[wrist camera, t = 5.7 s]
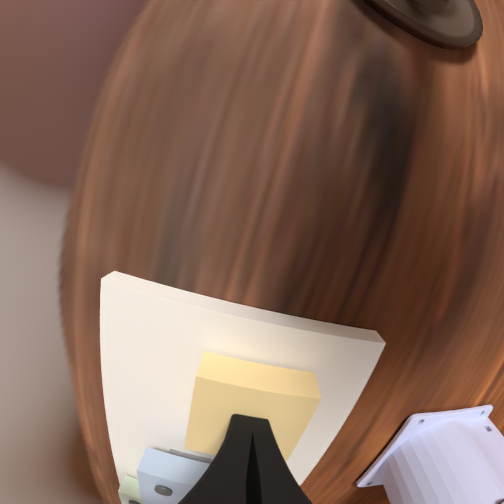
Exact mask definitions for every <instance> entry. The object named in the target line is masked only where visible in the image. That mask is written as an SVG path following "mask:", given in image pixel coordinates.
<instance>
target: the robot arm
mask: <svg viewBox="0 0 504 504" xmlns="http://www.w3.org/2000/svg"><path fill="white" fill-rule="evenodd" d="M492 409H493V407H492V405H485V406H479V407H473V408H467V409H460V410H452V411H443V412H433V413H420V414H413V415H411V416H410V417H409V418H408V419H407V420H406V422H405V423H404V425H403V426H402V427H401V429H400V430H399V432H398V433H397V434H396V436H395V437H394V438H393V440H392V441H391V442H390V444H389V445H388V446H387V447H386V449H385V450H384V451H383V452H382V454H381V455H380V456H379V457H378V458H377V460H376V461H375V462H374V463H373V464H372V465H371V467H370V468H369V469H368V470H367V471H366V472H365V473H364V475H363V476H362V477H361V478H360V479H359V480H358V481H357V482H356V483H357V487H368V486H376V485H384V488H385V491H386V494H387V497H388V499H389V502H390V504H504V437H503V436H502V434H501V433H500V432H499V430H498V429H497V428H496V427H495V426H494V424H493V423H492V422H491V421H490V419H489V418H488V416H489V414H490V413H491V411H492ZM178 504H312V503H311V501H310V500H309V499H308V498H307V496H306V495H305V493H304V492H303V491H302V489H301V488H300V486H299V485H298V483H297V481H296V480H295V478H294V476H293V475H292V473H291V471H290V469H289V468H288V466H287V464H286V462H285V460H284V458H283V456H282V453H281V451H280V449H279V447H278V444H277V442H276V439H275V437H274V434H273V431H272V428H271V425H270V422H269V420H268V419H264V418H258V417H252V416H246V415H240V414H233V415H232V416H231V419H230V423H229V426H228V429H227V432H226V436H225V439H224V441H223V443H222V445H221V447H220V449H219V451H218V453H217V454H216V456H215V458H214V459H213V461H212V462H211V464H210V465H209V467H208V468H207V470H206V471H205V473H204V474H203V475H202V477H201V478H200V479H199V480H198V482H197V483H196V484H195V485H194V487H193V488H192V489H191V490H190V491H189V492H188V493H187V494H186V495H185V497H184V498H183V499H182V500H181V501H180V502H179V503H178Z"/></svg>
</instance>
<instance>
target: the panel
mask: <svg viewBox="0 0 504 504" xmlns="http://www.w3.org/2000/svg"><path fill="white" fill-rule="evenodd" d="M385 344H386V343H385V342H384V340H383V339H382V338H381V336H380V335H379V334H378V333H377V331H374V330H367V329H361V328H355V327H350V326H344V325H338V324H333V323H327V322H322V321H317V320H311V319H306V318H301V317H296V316H291V315H286V314H282V313H277V312H272V311H268V310H263V309H259V308H254V307H250V306H245V305H241V304H237V303H232V302H228V301H224V300H220V299H216V298H212V297H208V296H204V295H200V294H196V293H192V292H188V291H184V290H180V289H177V288H173V287H169V286H166V285H162V284H158V283H155V282H151V281H148V280H144V279H141V278H137V277H134V276H130V275H127V274H124V273H120V272H117V271H113V272H112V273H110V274H108V275H106V276H105V277H103V278H101V296H100V348H101V368H102V381H103V392H104V401H105V410H106V417H107V424H108V430H109V436H110V442H111V447H112V452H113V457H114V462H115V467H116V471H117V475H118V479H119V483H120V485H121V483H122V481H123V478H124V476H125V475H128V476H130V477H133V478H136V479H138V476H137V468H138V465H139V463H140V461H141V458H142V456H143V453H144V451H145V448H146V447H149V448H153V449H156V450H159V451H162V452H165V453H169V454H172V455H176V456H180V457H183V458H187V459H191V460H195V461H200V462H204V463H209V464H211V462H212V461H213V459H214V458H215V456H216V455H211V454H207V453H202V452H198V451H194V450H190V449H186V448H184V447H185V440H186V434H187V428H188V421H189V415H190V409H191V403H192V397H193V391H194V385H195V379H196V375H197V372H198V369H199V366H200V363H201V360H202V357H203V354H204V351H206V352H210V353H214V354H218V355H223V356H227V357H231V358H236V359H240V360H245V361H250V362H255V363H260V364H265V365H270V366H276V367H282V368H288V369H294V370H300V371H307V372H314V373H315V377H316V381H317V384H318V388H319V392H320V395H321V401H320V403H319V405H318V407H317V408H316V410H315V412H314V414H313V416H312V418H311V420H310V422H309V424H308V425H307V427H306V429H305V431H304V433H303V435H302V436H301V438H300V440H299V442H298V443H297V445H296V447H295V448H294V450H293V452H292V454H291V455H290V457H289V458H288V460H287V462H286V464H287V466H288V468H289V469H290V471H291V473H292V475H293V476H294V478H295V480H296V481H297V483H298V485H299V486H300V485H301V484H302V483H303V481H304V480H305V479H306V477H307V476H308V475H309V473H310V472H311V471H312V469H313V468H314V467H315V465H316V464H317V463H318V461H319V460H320V458H321V457H322V456H323V454H324V453H325V451H326V450H327V448H328V447H329V445H330V444H331V442H332V441H333V439H334V438H335V436H336V435H337V433H338V432H339V430H340V429H341V427H342V425H343V424H344V422H345V420H346V419H347V417H348V415H349V414H350V412H351V410H352V409H353V407H354V405H355V403H356V402H357V400H358V398H359V396H360V395H361V393H362V391H363V389H364V387H365V385H366V383H367V381H368V380H369V378H370V376H371V374H372V372H373V370H374V368H375V366H376V364H377V362H378V359H379V357H380V355H381V353H382V351H383V349H384V347H385Z"/></svg>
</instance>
